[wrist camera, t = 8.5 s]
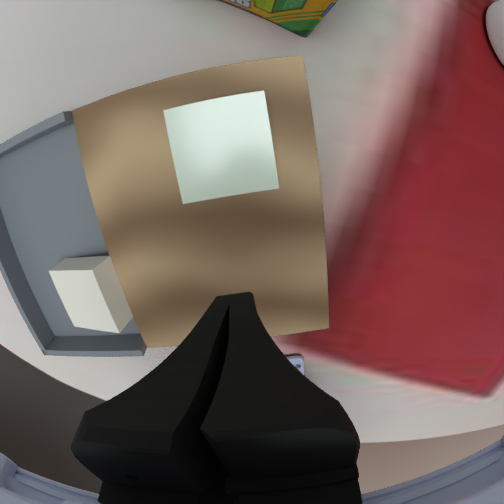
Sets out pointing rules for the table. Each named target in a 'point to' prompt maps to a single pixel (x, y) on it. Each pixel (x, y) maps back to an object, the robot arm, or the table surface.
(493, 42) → the water bottle
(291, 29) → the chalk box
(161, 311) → the oak board
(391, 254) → the table surface
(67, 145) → the tray
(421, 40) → the table surface
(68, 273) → the cream tile
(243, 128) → the sage tile
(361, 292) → the table surface
